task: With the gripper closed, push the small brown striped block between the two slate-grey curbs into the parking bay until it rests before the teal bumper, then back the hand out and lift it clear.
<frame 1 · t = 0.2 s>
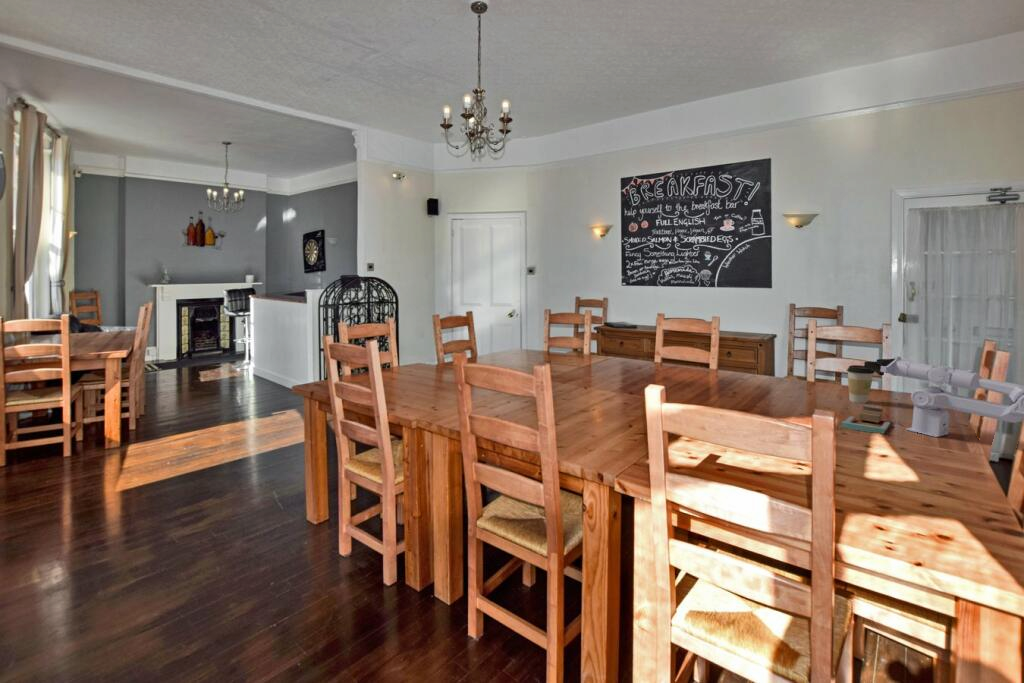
hand: (871, 363, 198), 21 cm above the table, tool horizontal, fingers open, 7 cm apart
coffee cup: (858, 401, 226), on the table
parking bay: (865, 427, 190), on the table
brown striped block: (870, 421, 197), on the table
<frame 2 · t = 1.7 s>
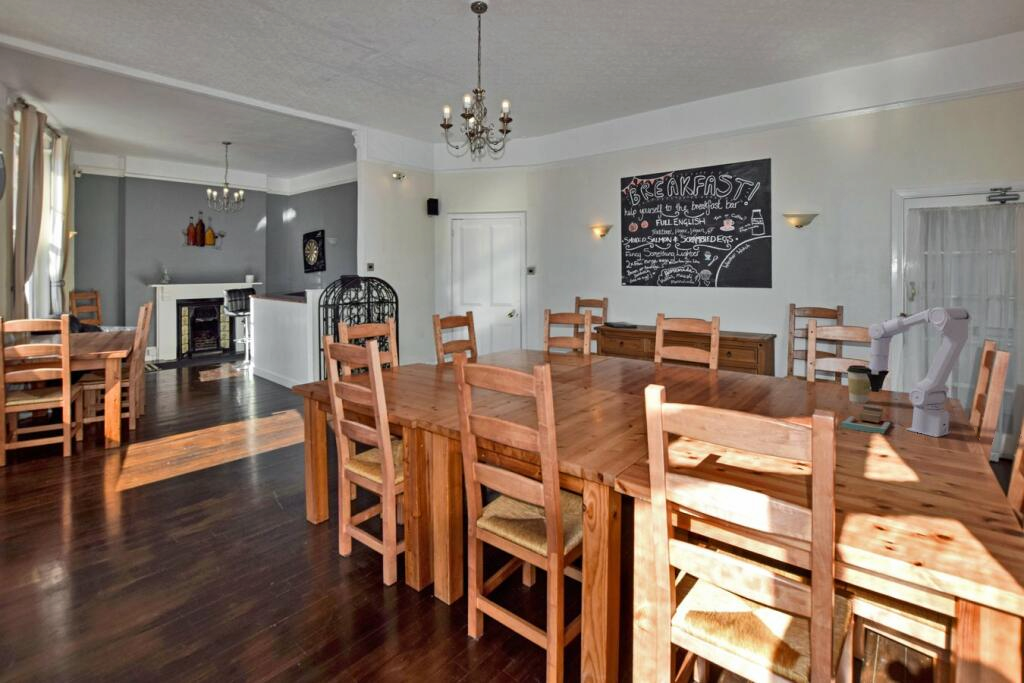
hand: (876, 390, 202), 10 cm above the table, tool pointing down, fingers open, 6 cm apart
nothing on the table moved.
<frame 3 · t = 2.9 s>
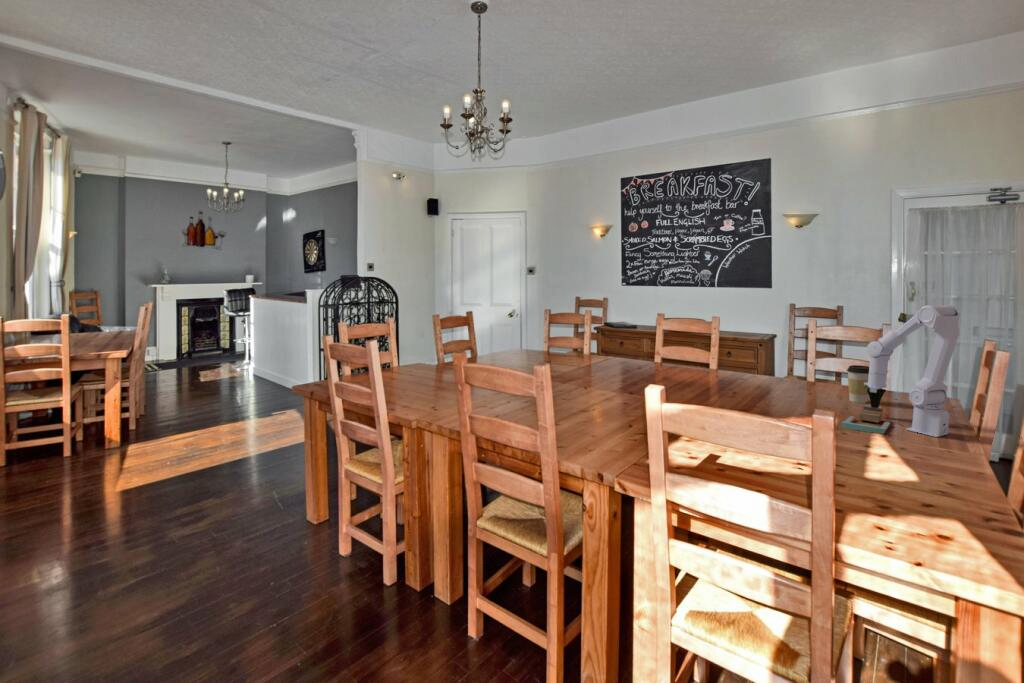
hand: (874, 407, 203), 4 cm above the table, tool pointing down, fingers closed
nothing on the table moved.
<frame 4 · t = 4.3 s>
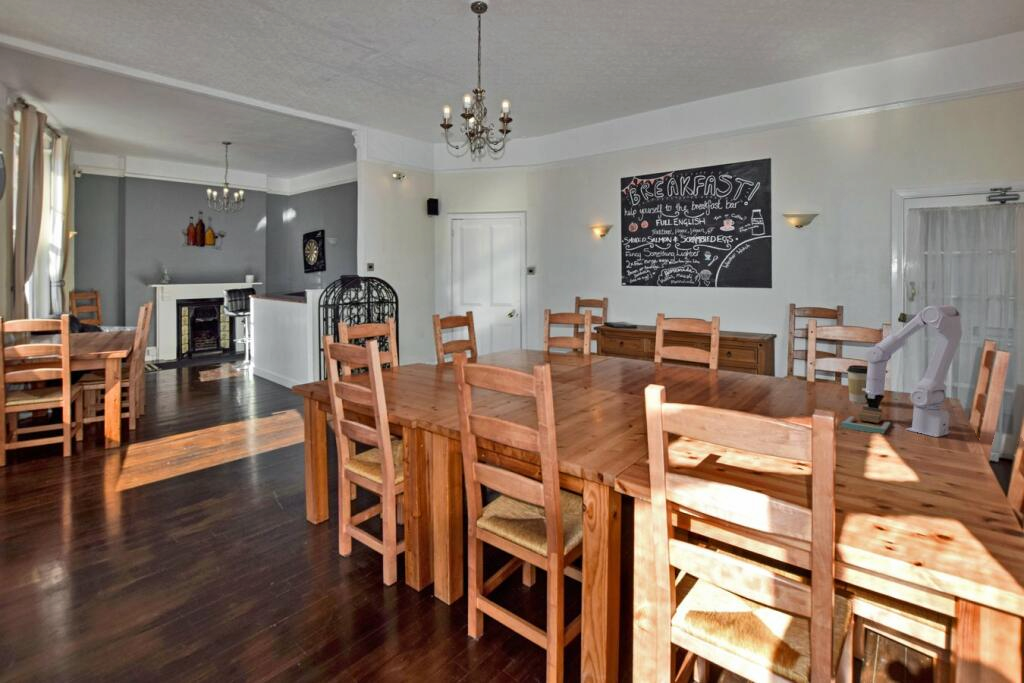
hand: (872, 413, 200), 2 cm above the table, tool pointing down, fingers closed
brown striped block: (870, 421, 197), on the table, touching gripper
everything else where it was.
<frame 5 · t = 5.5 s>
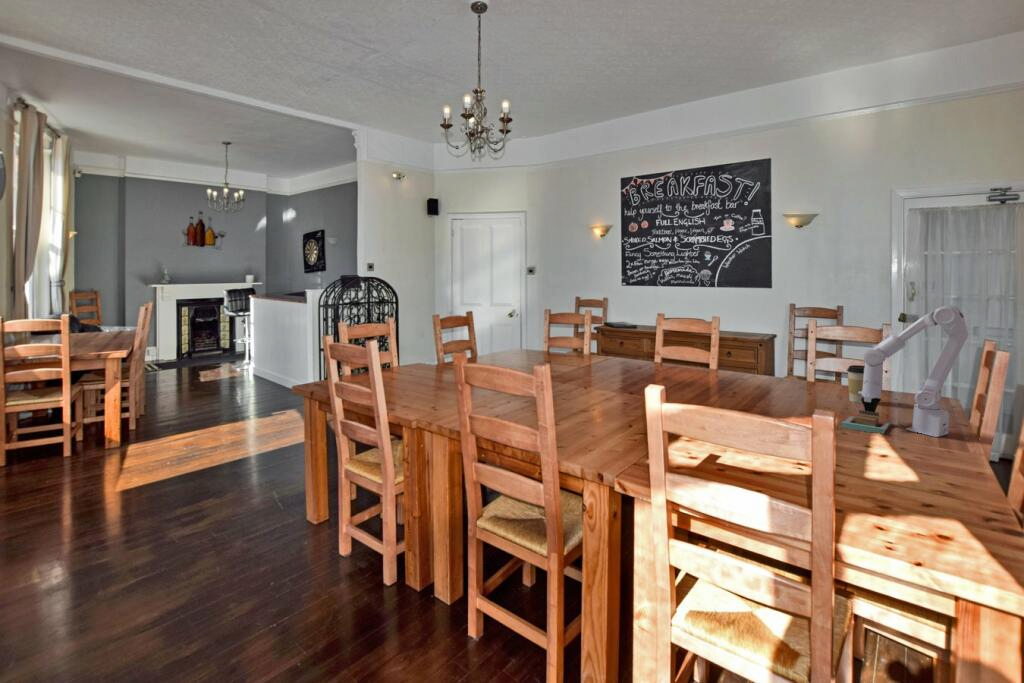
hand: (869, 417, 195), 2 cm above the table, tool pointing down, fingers closed
brown striped block: (866, 425, 192), on the table, touching gripper
everything else where it was.
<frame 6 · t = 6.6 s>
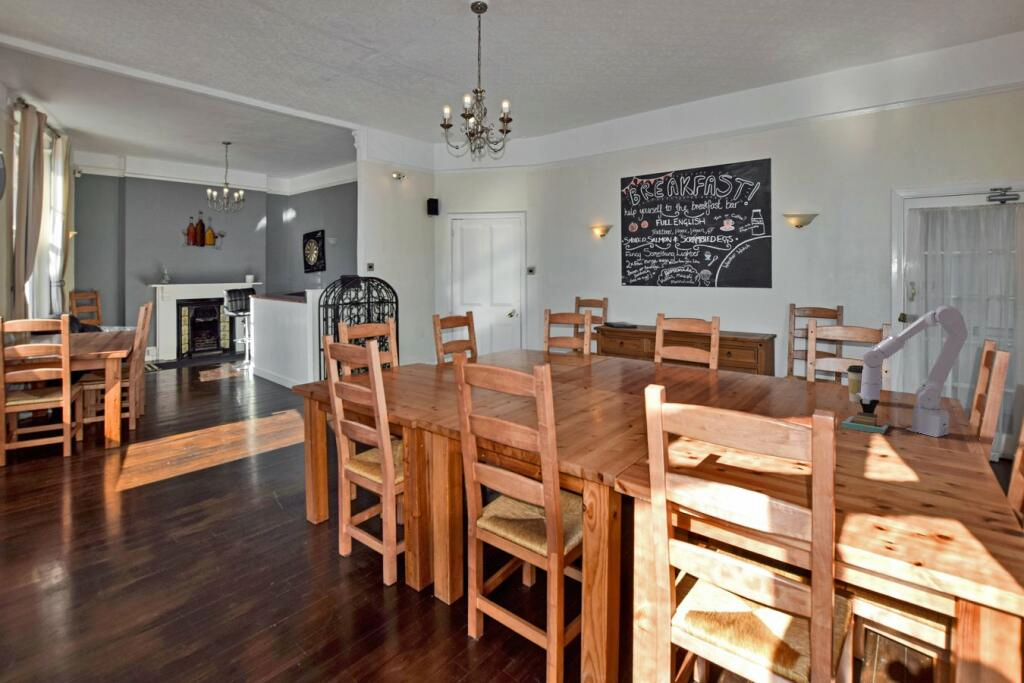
hand: (867, 419, 193), 2 cm above the table, tool pointing down, fingers closed
brown striped block: (864, 427, 190), on the table, touching gripper
everything else where it was.
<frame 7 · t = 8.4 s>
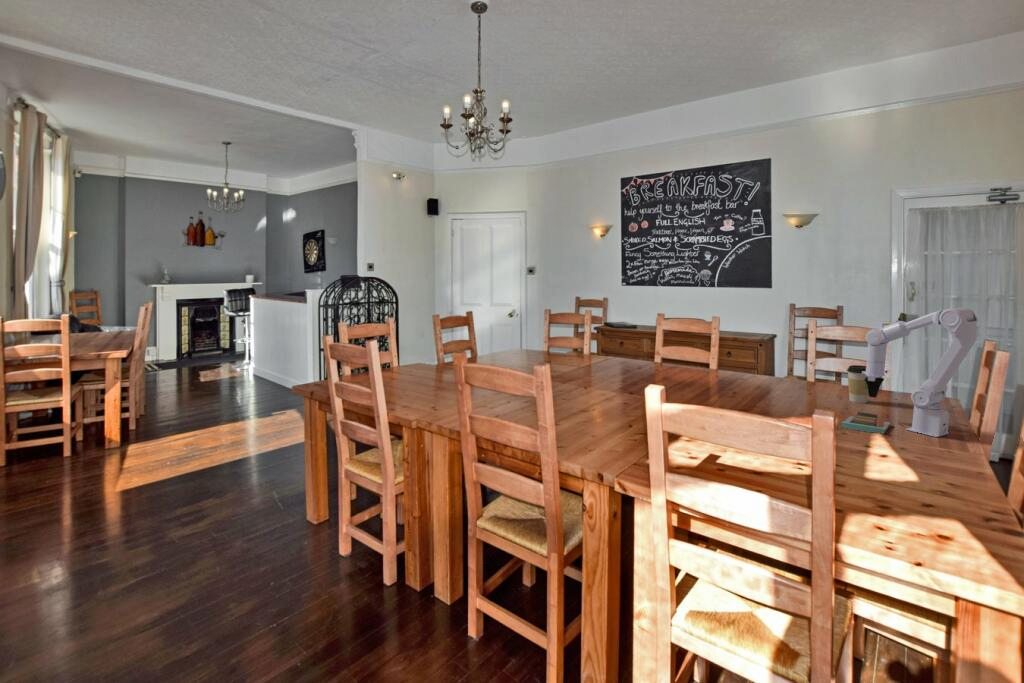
hand: (872, 396, 198), 9 cm above the table, tool pointing down, fingers closed
brown striped block: (864, 427, 190), on the table
everything else where it was.
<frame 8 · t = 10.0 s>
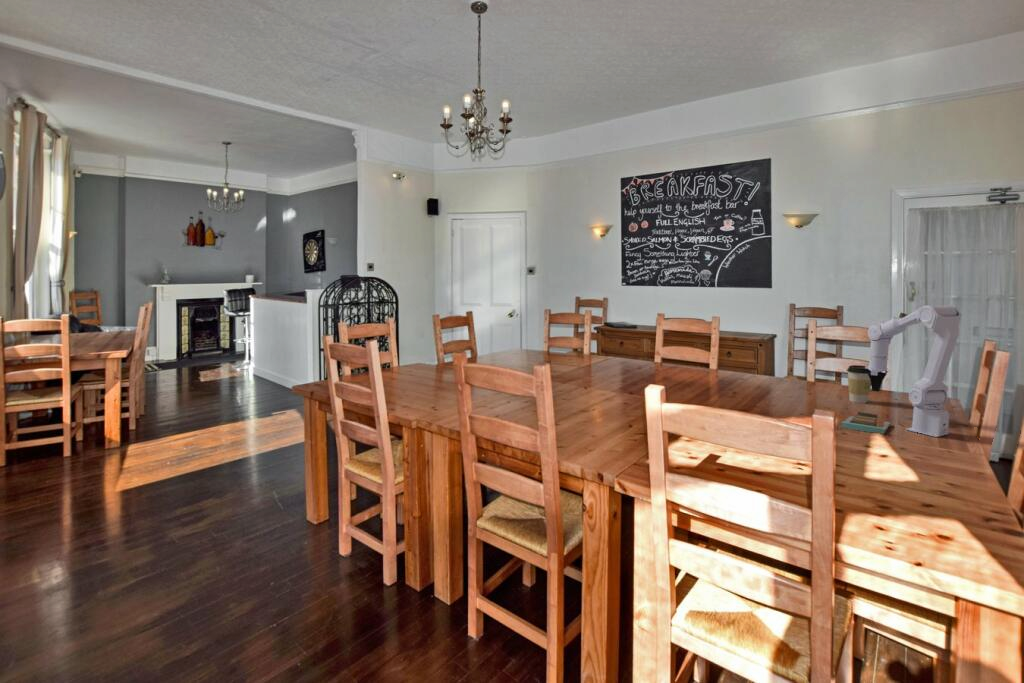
hand: (875, 390, 205), 9 cm above the table, tool pointing down, fingers closed
nothing on the table moved.
at the end: brown striped block 0.5 cm off-centre on the parking bay, point 0.0 cm above the parking bay's base; brown striped block tilted 0°; brown striped block moved 10.5 cm from its start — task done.
